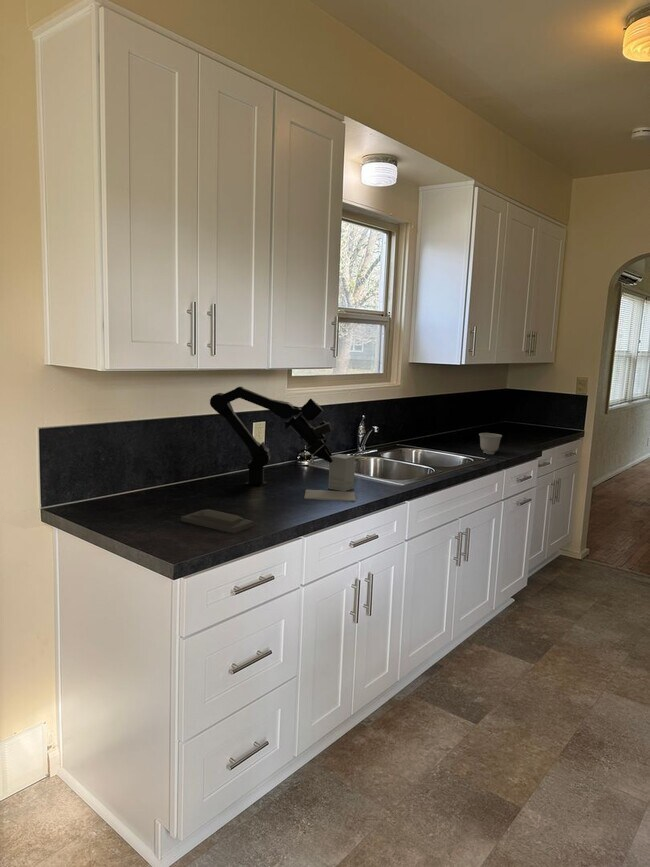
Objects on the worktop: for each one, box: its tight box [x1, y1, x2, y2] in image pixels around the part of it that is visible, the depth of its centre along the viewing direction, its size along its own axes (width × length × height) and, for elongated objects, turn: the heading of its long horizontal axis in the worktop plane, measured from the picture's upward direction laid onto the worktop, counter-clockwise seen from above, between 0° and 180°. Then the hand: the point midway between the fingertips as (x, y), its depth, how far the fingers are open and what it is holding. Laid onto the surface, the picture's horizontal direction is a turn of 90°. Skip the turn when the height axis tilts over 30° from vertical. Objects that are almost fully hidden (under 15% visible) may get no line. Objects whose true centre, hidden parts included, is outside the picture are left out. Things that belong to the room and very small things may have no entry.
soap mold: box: [180, 508, 256, 534], centre depth 196 cm, size 10×20×4 cm, turn 60°
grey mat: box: [303, 489, 356, 502], centre depth 235 cm, size 18×12×1 cm, turn 89°
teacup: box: [478, 432, 503, 455], centre depth 343 cm, size 12×15×10 cm
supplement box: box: [328, 453, 356, 492], centre depth 247 cm, size 7×7×13 cm
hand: (331, 459), depth 246 cm, fingers open, 9 cm apart
